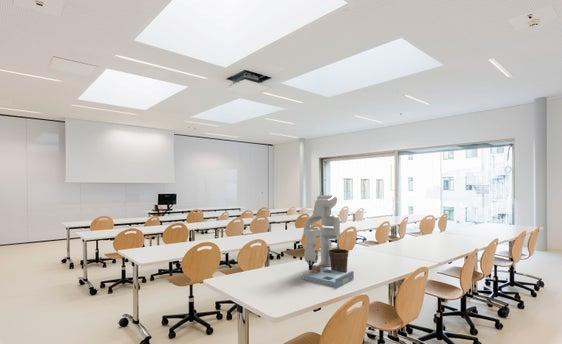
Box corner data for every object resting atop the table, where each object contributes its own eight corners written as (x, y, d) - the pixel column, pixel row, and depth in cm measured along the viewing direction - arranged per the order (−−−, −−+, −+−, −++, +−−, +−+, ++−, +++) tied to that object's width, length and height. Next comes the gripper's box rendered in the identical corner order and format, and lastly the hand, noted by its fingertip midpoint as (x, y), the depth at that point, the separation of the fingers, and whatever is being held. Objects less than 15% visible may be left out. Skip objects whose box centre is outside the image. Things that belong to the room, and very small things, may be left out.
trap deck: (321, 272, 243) (321, 265, 244) (353, 278, 225) (353, 271, 226) (303, 279, 225) (303, 271, 225) (337, 287, 207) (336, 278, 207)
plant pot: (326, 273, 240) (326, 252, 240) (330, 268, 255) (330, 248, 256) (348, 275, 234) (347, 253, 235) (350, 269, 250) (349, 249, 250)
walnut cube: (315, 271, 236) (315, 265, 236) (320, 272, 233) (320, 266, 233) (311, 272, 232) (311, 266, 232) (316, 273, 229) (316, 267, 229)
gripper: (321, 246, 234) (321, 270, 233) (305, 243, 244) (306, 267, 243) (315, 247, 228) (316, 272, 228) (299, 245, 238) (300, 269, 237)
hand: (311, 269), depth 235 cm, fingers closed
